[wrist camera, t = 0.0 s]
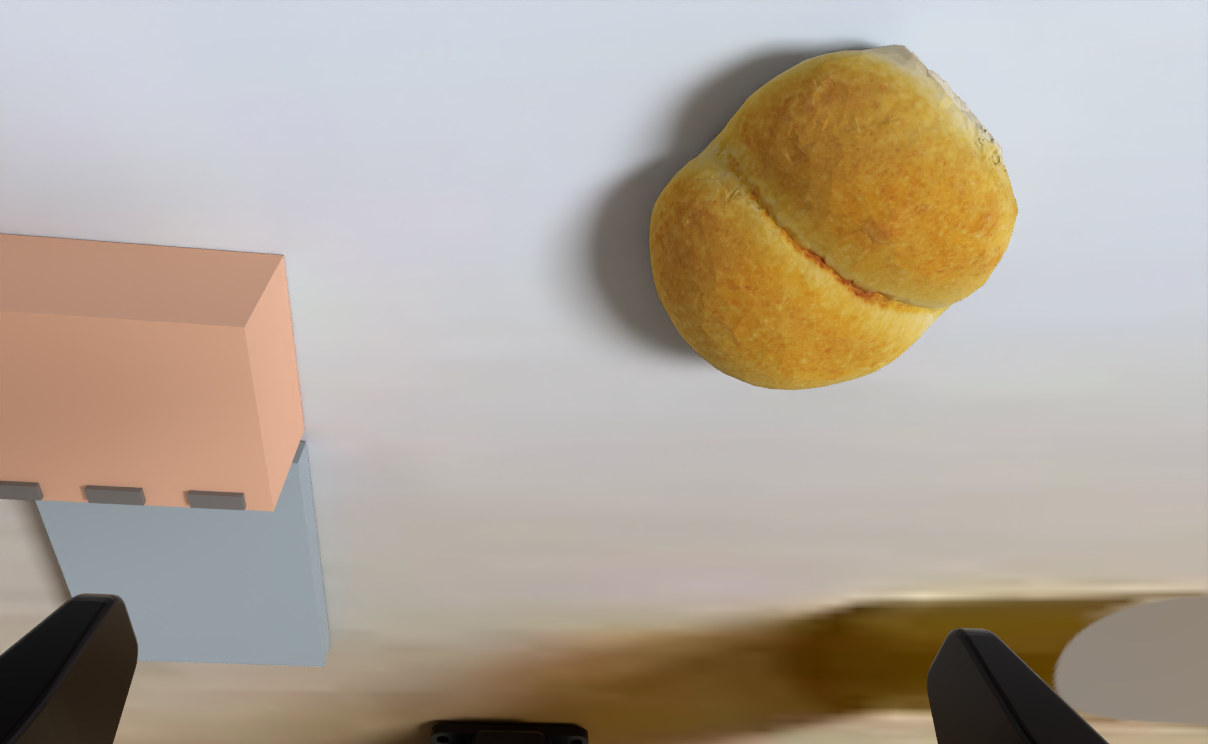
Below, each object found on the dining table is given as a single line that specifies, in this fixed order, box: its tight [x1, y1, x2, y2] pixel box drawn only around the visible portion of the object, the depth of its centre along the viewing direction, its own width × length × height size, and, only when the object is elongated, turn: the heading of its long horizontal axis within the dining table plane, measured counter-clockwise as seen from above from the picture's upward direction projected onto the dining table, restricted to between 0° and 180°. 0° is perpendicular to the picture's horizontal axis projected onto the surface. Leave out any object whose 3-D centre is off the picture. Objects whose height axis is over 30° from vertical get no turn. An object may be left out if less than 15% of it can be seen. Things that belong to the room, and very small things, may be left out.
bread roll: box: [649, 45, 1018, 390], centre depth 22 cm, size 8×9×4 cm
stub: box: [0, 234, 304, 511], centre depth 23 cm, size 6×8×4 cm
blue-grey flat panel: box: [35, 441, 330, 667], centre depth 29 cm, size 10×8×1 cm
